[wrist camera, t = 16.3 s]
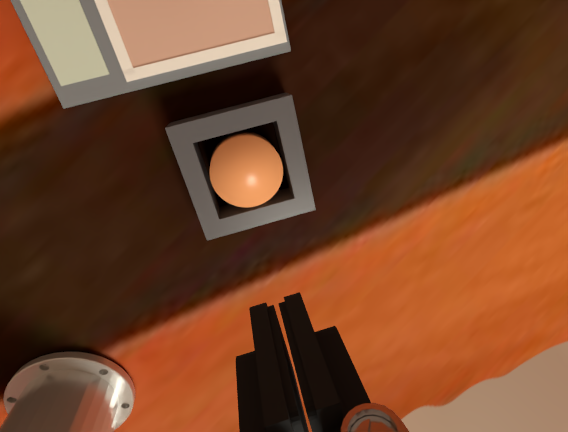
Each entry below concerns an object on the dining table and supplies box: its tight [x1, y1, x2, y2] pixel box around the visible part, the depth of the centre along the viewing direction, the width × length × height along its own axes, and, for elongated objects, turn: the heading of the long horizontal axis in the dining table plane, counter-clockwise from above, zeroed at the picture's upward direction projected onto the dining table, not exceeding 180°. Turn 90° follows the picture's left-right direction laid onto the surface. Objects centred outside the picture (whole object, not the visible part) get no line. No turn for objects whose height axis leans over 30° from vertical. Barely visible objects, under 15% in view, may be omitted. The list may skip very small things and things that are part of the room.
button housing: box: [165, 93, 316, 240], centre depth 29 cm, size 10×10×3 cm
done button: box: [210, 131, 283, 207], centre depth 29 cm, size 6×6×2 cm
